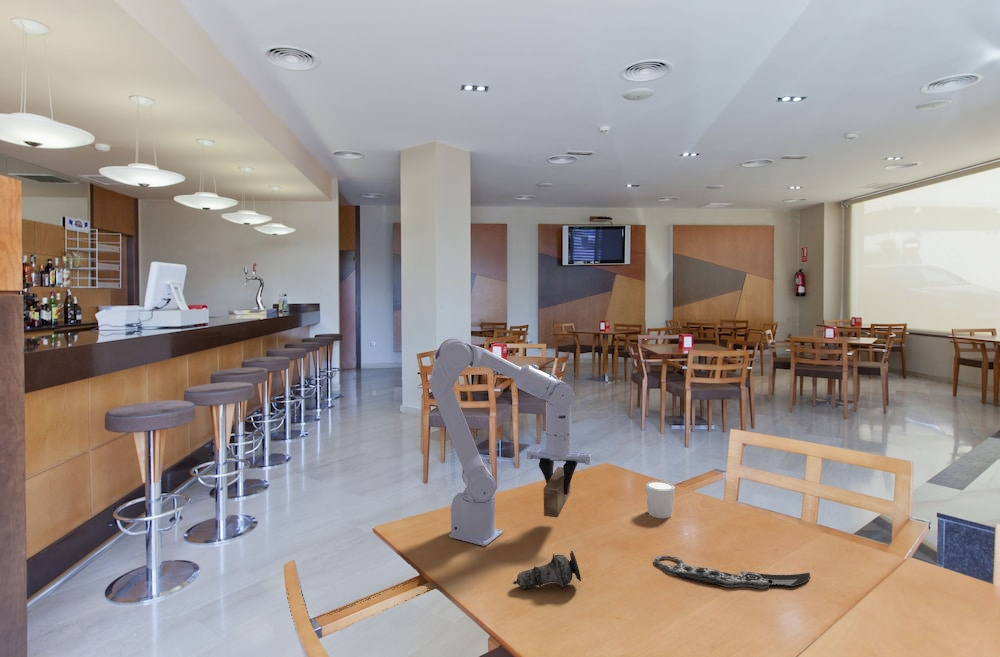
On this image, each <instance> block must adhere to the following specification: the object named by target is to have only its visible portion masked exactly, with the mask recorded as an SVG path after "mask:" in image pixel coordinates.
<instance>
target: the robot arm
mask: <svg viewBox="0 0 1000 657" xmlns="http://www.w3.org/2000/svg"><path fill="white" fill-rule="evenodd" d="M469 366H470V367H471V368H478V367H485V368H488V369H490V370H492V371H494V372H496V373H498V374H501V375H503V376H505V377H507V378H509V379H512V380H513V381H514V384H515V386H516V388H517V389H519V390H521V391H523V392H525V393H527V394H529V395H531V396H533V397H536V398H538V399H540V400H544V401H545V448H528V449H527V450H526V460H539V463H538V466H539V469H540V471H541V473H542V475H543V478H544V481H545V485H546V484H547V483H548V481H549V480H550V478H551V477H552V475H553V473H554V464H555V462H564V464H563V467H562V468H563V469H564V494H565V495H567V494H568V493H569V487H570V488H571V481H572V478H573V475H574V473H575V470H576V468H577V465H578V464H584V465H588V466H589V465H591V463H592V454H591V453H587V452H586V453H585V452H579V451H576V450H572V410H571V408H572V407H571V406H572V405H573V403H574V401H575V399H576V394H575V393H574V390H573V388H572V386H571V385H570V384H569V383H567V382H565V381H563V380H560V379H559V378H558V377H557V375H555V374H553V373H552V374H551V375H550V374H548V373H547V372H544V371H543V370H540V366H538V365H536V364H534V363H532V365H530V364H524V365H521V366H518V365H516V364H514V363H513V362H511V361H509V360H507V359H505V358H503V357H501V356H499V355H498V354H495V353H493V352H492V351H490V350H488V349H485V348H483V347H481V346H478V345H475V344H471V343H469V342H464V341H461V340H460V339H458V338H453V337H452V338H448V339H446V340H443V342H442V343H441V344H440V346H439V347H438V348H437V350H436V352H435V353H434V357H433V364H432V370H431V373H430V378H429V389H430V391H431V394H432V396H433V398H434V400H435V403H436V405H437V408H438V411H439V413H440V415H441V418H442V421H443V423H444V425H445V427H446V429H447V432H448V435H449V437H450V439H451V442H452V444H453V445H452V446H453V447H454V449H455V452H456V455H457V457H458V459H459V462H460V465H461V468H462V473H461V477H462V478H461V479H462V481H463V483H464V484H465V489H464V490H463V492H458V493H456V495H455V496H454V497H453V499H452V502H451V506H450V528H451V529H450V533H449V534H448V536H449V538H451V539H456V540H459V541H463V542H467V543H471V544H475V545H479V546H482V547H486V546H487V545H489V544H490V543H491V542H493V541H494V540H495V539H497V538H498V537H500V535H501V534H503V533H504V531H503V529H499V528H496V491H497V482H496V479H495V477H494V476H493V475H492V474H491V472H490V470H489V467H488V465H487V464H486V463H485V462H483V460H482V457H481V455H480V453H479V450H478V448H477V445H476V443H475V442H476V441H475V440H474V437H473V435H472V432H471V430H470V428H469V424H468V423H467V420H466V417H465V415H464V413H463V411H462V408H461V405H460V403H459V400H458V398H457V395H456V393H455V390H454V387H455V384H456V382H457V380H458V378H459V376H460V375H461V374H462V373H463V372H464V371H465V370H466V369H468V367H469Z"/></svg>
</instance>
